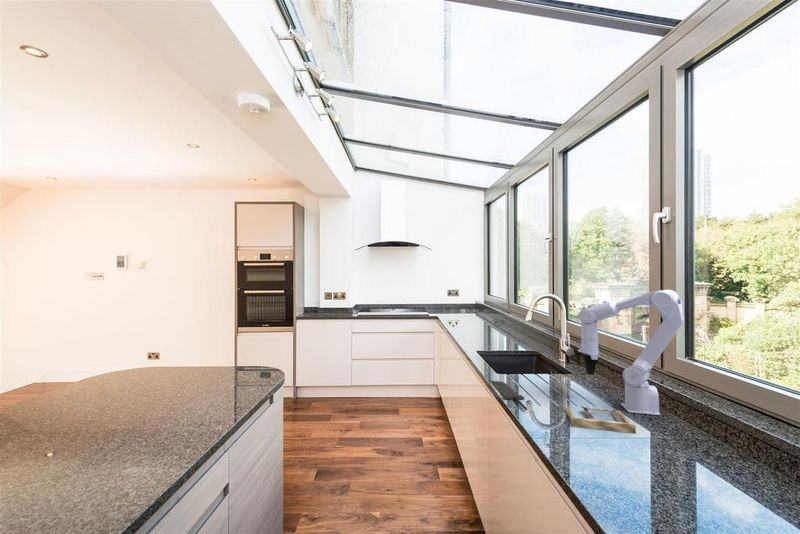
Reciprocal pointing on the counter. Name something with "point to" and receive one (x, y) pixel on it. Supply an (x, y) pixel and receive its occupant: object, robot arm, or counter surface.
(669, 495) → the counter surface
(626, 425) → the oak frame
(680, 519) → the counter surface
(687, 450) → the counter surface
